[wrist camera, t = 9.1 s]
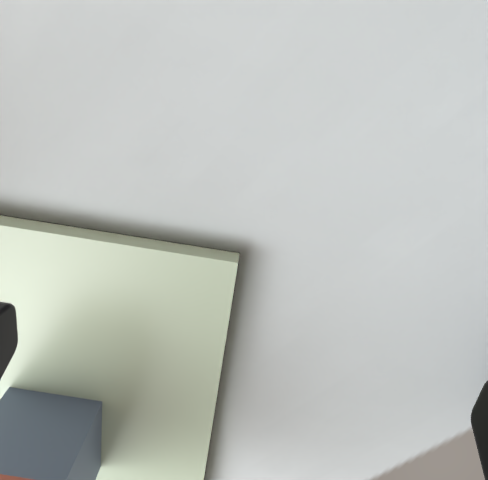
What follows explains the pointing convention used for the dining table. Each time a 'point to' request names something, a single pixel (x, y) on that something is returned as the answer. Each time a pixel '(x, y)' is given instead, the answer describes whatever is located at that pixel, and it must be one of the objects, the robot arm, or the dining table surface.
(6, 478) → the red brick
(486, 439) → the robot arm
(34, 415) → the blue brick
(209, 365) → the build board
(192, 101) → the dining table surface
